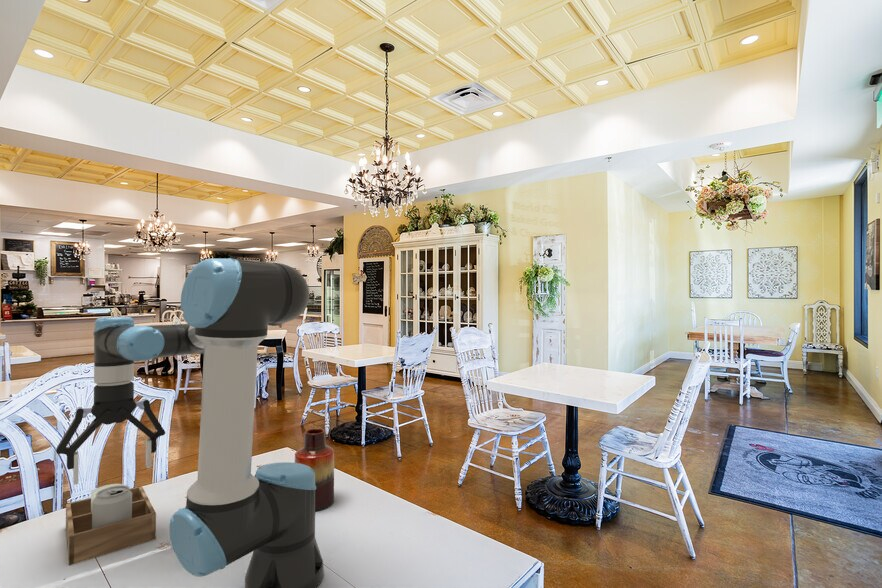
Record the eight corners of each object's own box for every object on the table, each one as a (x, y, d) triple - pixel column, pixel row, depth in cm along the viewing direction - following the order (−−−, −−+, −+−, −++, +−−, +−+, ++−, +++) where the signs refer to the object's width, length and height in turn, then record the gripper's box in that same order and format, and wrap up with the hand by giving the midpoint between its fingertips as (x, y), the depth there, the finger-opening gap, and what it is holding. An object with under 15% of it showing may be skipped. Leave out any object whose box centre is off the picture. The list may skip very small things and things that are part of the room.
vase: (324, 513, 118) (324, 437, 118) (286, 510, 120) (287, 435, 120) (339, 496, 128) (340, 426, 129) (305, 493, 130) (305, 424, 130)
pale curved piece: (125, 525, 109) (126, 489, 109) (91, 535, 105) (92, 497, 105) (121, 516, 114) (122, 481, 114) (89, 525, 110) (89, 488, 110)
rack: (155, 543, 103) (155, 513, 103) (68, 570, 93) (69, 536, 93) (141, 511, 118) (141, 485, 119) (65, 532, 108) (66, 503, 108)
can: (110, 552, 98) (111, 498, 98) (82, 548, 99) (83, 495, 99) (139, 534, 105) (140, 484, 105) (113, 531, 107) (114, 481, 107)
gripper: (172, 374, 114) (171, 457, 113) (42, 388, 97) (41, 484, 97) (178, 378, 108) (178, 464, 108) (42, 392, 92) (41, 495, 91)
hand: (113, 474), depth 102 cm, fingers open, 13 cm apart
